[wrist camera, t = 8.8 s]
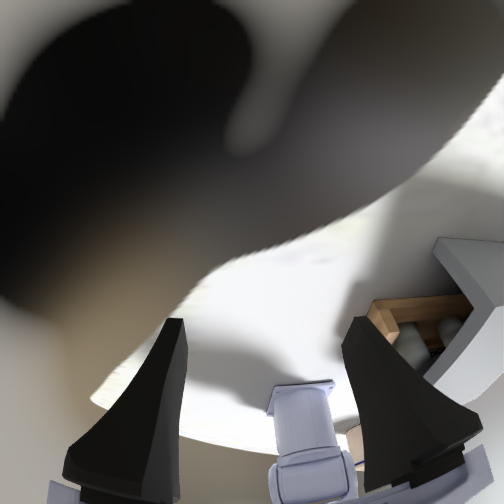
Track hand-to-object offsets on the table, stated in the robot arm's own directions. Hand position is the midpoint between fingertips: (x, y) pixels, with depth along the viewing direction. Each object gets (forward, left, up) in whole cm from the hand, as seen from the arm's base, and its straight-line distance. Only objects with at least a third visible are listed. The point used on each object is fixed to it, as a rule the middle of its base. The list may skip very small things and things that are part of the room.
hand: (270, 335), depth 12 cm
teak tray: (-11, -20, -9) cm, 24 cm away
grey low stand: (-11, -25, -9) cm, 29 cm away
